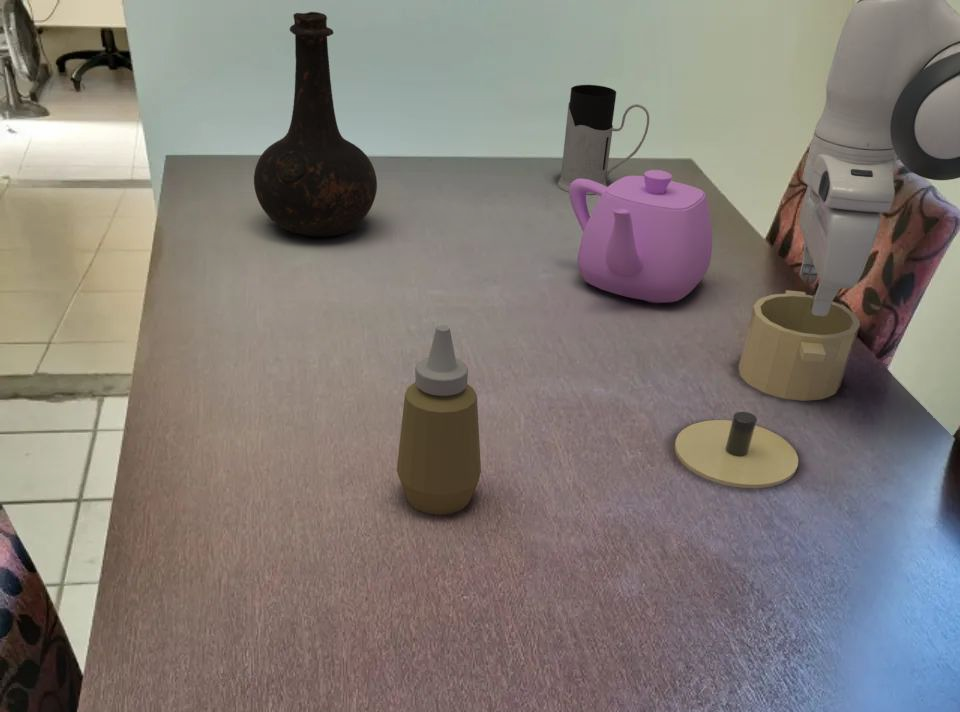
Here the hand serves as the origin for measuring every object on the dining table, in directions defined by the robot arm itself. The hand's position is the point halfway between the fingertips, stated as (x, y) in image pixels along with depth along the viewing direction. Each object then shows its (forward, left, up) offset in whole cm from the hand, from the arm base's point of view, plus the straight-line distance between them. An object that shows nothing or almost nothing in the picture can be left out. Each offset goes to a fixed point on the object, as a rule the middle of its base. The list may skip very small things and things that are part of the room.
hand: (812, 296), depth 111 cm
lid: (+8, +20, -10) cm, 24 cm away
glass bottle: (+67, -36, -11) cm, 77 cm away
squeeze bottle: (+38, +34, -11) cm, 52 cm away
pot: (0, 0, -11) cm, 11 cm away
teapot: (+18, -25, -11) cm, 33 cm away
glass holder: (+25, -67, -11) cm, 72 cm away
